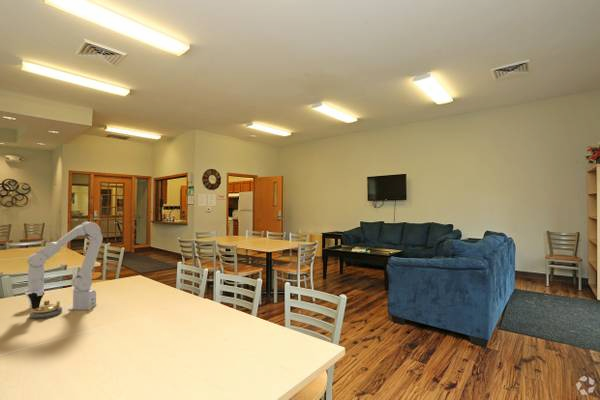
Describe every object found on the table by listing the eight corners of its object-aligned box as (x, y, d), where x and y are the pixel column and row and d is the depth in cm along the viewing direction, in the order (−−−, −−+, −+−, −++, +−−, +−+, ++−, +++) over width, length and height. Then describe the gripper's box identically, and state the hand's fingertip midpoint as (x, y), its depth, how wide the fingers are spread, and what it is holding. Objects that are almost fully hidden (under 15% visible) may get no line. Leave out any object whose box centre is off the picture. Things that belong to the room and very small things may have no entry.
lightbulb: (33, 309, 153) (34, 287, 153) (21, 309, 153) (21, 287, 153) (44, 305, 159) (44, 284, 159) (32, 305, 159) (32, 284, 159)
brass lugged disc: (64, 308, 149) (64, 301, 149) (40, 314, 140) (40, 307, 140) (51, 305, 153) (51, 298, 153) (27, 311, 144) (27, 304, 144)
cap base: (67, 310, 153) (68, 305, 153) (49, 319, 141) (49, 314, 141) (43, 310, 152) (43, 306, 152) (22, 319, 140) (22, 314, 140)
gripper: (20, 278, 145) (20, 307, 144) (29, 283, 136) (28, 314, 136) (39, 275, 150) (39, 303, 150) (49, 280, 142) (48, 309, 141)
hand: (35, 308), depth 143 cm, fingers closed, pressing on brass lugged disc
